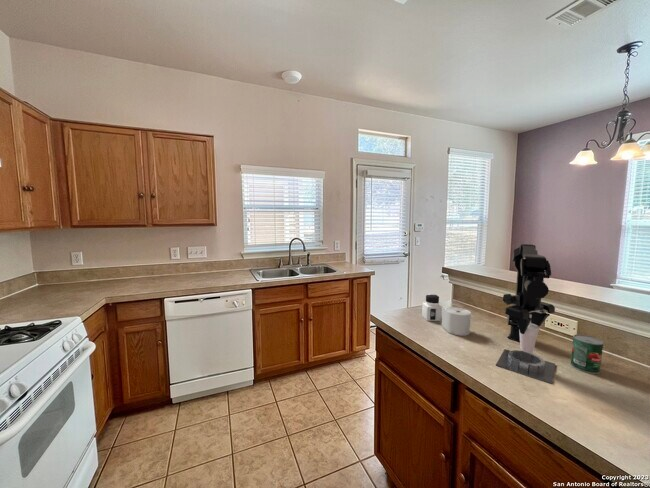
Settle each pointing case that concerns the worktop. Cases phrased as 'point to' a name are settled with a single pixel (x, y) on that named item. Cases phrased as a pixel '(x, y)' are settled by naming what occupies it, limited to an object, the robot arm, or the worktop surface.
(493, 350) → the worktop surface
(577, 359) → the canned tomato
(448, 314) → the toilet tissue
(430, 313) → the container
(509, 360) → the duct collar
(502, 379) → the worktop surface
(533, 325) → the smoothie
